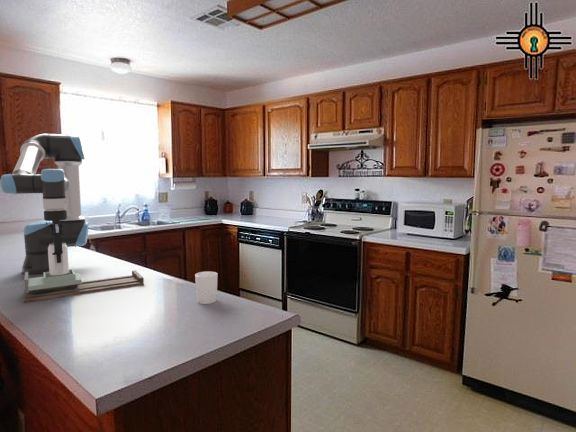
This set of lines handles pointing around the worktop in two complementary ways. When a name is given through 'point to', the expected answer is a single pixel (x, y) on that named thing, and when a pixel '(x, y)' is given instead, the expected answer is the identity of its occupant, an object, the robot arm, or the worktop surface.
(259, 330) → the worktop surface
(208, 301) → the white cup
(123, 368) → the worktop surface
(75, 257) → the worktop surface
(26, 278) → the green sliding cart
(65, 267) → the can
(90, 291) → the track
